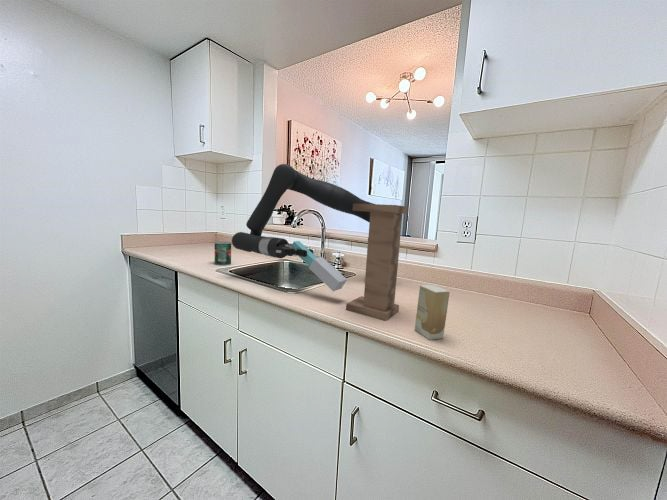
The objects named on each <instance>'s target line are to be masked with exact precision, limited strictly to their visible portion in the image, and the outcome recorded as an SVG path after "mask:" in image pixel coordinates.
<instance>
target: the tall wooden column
mask: <svg viewBox="0 0 667 500" xmlns="http://www.w3.org/2000/svg"><path fill="white" fill-rule="evenodd" d="M353 211H366V212H370V223H369V226H368V236H369V237H368V236H367V246H368V250H367V249H366V260H367V263H366V262H365V273H366V277H364V293H363V296H359V297H357V298H355V299H352V300H351V301H349V302H347V303H345V311H348V312H353V313H356V314H360V315H363V316H367V317H371V318H375V319H378V320H382V321H384V322H386V321H389V320H390V318H392V317H393V316H394V315H395V314H397V313H398V312H399V307H400V305H399V304H395V301H396V300H395V298H396V289H397V279H398V278H397V277H398V267H399V256H400V244H401V237H402V235H401V233H402V224H403V221H402V220H403V215H404V214H405V215H407V214H408V212H409V206H404V205H397V204H376V203H373V204H353Z"/></svg>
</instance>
